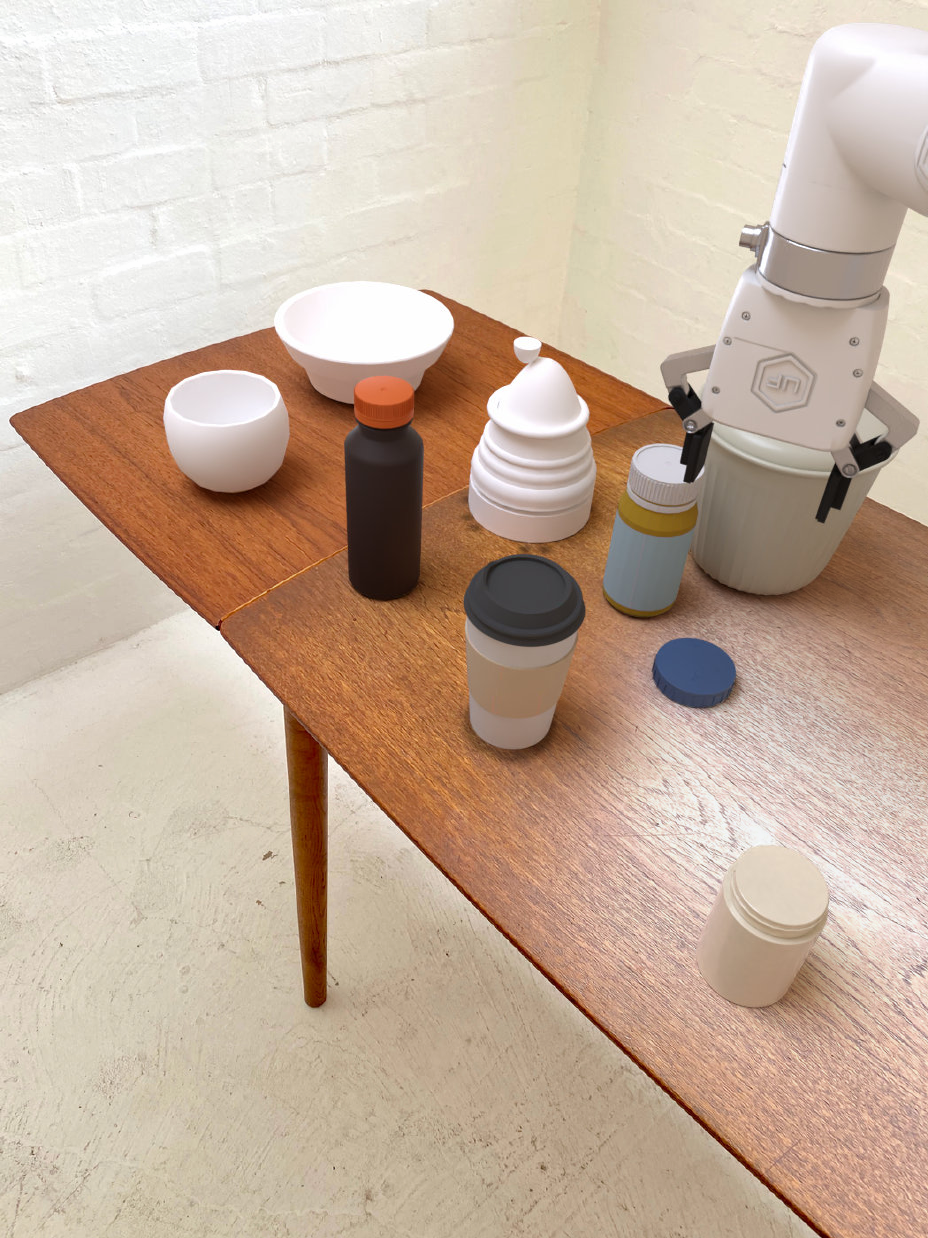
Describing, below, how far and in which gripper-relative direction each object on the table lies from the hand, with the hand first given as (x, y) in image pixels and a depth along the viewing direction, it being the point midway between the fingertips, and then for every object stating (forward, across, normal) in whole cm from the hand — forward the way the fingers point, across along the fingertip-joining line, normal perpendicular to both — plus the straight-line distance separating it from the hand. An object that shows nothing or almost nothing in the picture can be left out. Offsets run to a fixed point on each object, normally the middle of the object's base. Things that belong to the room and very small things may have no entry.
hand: (757, 493), depth 71 cm
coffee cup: (+20, -13, -12) cm, 27 cm away
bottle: (+20, -9, +8) cm, 23 cm away
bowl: (+19, -52, +29) cm, 63 cm away
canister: (+20, -1, +19) cm, 28 cm away
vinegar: (+20, -31, -2) cm, 37 cm away
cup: (+19, -53, +4) cm, 56 cm away
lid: (+19, -1, 0) cm, 19 cm away
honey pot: (+20, -24, +16) cm, 35 cm away
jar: (+20, +10, -24) cm, 33 cm away
